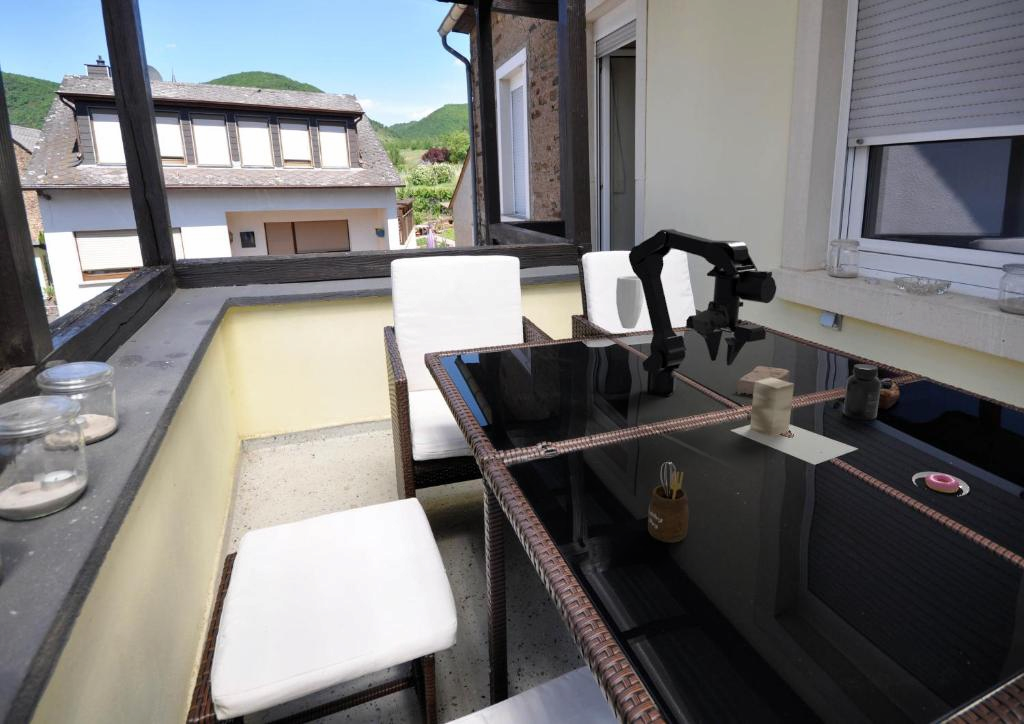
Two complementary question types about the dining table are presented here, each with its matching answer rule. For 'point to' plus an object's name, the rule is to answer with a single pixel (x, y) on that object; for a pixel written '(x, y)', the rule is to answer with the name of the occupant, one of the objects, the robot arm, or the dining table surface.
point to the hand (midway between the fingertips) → (721, 362)
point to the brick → (760, 378)
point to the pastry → (887, 395)
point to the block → (771, 406)
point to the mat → (800, 444)
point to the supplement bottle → (862, 393)
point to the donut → (942, 482)
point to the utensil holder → (668, 511)
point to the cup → (629, 300)
